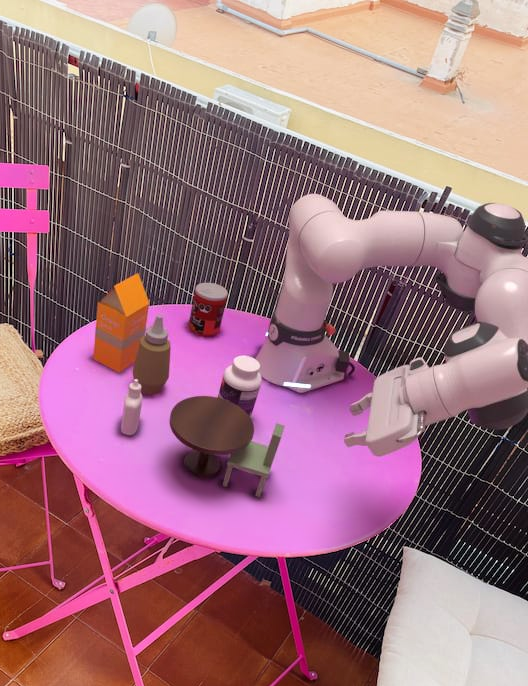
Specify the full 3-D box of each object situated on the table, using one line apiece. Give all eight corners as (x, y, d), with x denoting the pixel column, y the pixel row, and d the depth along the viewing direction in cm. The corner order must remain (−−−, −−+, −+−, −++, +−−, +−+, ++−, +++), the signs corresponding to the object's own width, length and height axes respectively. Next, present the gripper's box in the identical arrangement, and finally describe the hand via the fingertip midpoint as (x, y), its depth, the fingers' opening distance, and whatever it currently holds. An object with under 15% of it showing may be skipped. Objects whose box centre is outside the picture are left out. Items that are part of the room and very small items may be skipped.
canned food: (183, 322, 174) (190, 282, 166) (212, 320, 177) (220, 281, 169) (194, 338, 169) (202, 299, 162) (223, 336, 172) (232, 297, 164)
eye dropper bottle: (112, 428, 140) (118, 380, 132) (130, 416, 144) (137, 369, 135) (128, 438, 138) (135, 391, 130) (146, 426, 142) (153, 379, 134)
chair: (268, 472, 137) (286, 418, 128) (260, 498, 132) (279, 444, 122) (230, 460, 138) (245, 406, 129) (220, 485, 132) (236, 430, 123)
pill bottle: (207, 408, 150) (220, 353, 140) (240, 404, 152) (255, 350, 142) (222, 432, 144) (236, 376, 134) (255, 427, 147) (272, 372, 137)
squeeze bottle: (168, 380, 155) (180, 310, 143) (164, 401, 149) (177, 330, 137) (133, 373, 155) (142, 303, 142) (128, 394, 149) (137, 323, 136)
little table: (248, 453, 141) (261, 410, 133) (231, 504, 129) (244, 460, 122) (175, 430, 143) (183, 386, 135) (151, 478, 131) (159, 434, 123)
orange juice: (92, 358, 157) (99, 279, 143) (115, 343, 162) (124, 265, 149) (119, 373, 154) (129, 293, 140) (142, 357, 160) (153, 279, 146)
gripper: (433, 449, 106) (350, 475, 114) (435, 380, 120) (361, 407, 128) (416, 419, 103) (333, 447, 111) (420, 351, 118) (346, 381, 126)
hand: (348, 425), depth 120 cm, fingers open, 8 cm apart
